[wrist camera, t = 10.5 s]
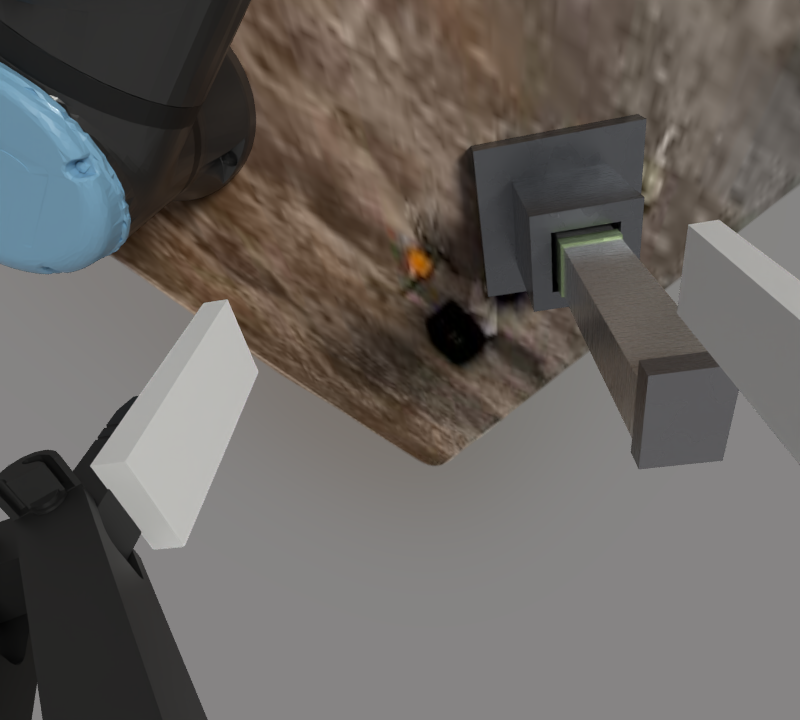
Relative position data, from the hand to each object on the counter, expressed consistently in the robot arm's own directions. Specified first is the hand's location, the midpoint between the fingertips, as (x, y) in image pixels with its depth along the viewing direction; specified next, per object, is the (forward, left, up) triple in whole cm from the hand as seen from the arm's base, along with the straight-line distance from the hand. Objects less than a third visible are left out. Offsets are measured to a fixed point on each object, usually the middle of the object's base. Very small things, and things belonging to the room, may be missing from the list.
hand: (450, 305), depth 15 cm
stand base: (+10, -11, -35) cm, 38 cm away
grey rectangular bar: (+10, -11, -26) cm, 30 cm away
